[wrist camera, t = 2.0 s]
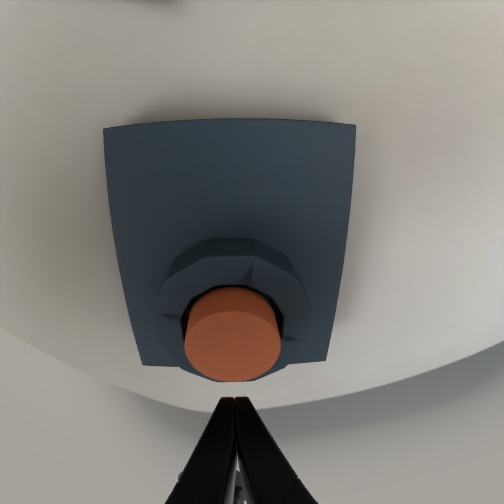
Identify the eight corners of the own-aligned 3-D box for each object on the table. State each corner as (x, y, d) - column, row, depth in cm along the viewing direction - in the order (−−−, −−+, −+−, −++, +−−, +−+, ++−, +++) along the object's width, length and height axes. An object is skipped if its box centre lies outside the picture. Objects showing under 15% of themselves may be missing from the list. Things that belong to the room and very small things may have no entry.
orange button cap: (273, 352, 13) (278, 380, 12) (193, 354, 13) (190, 382, 12) (277, 284, 12) (284, 309, 10) (184, 286, 12) (178, 312, 10)
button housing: (316, 336, 18) (334, 384, 14) (149, 340, 17) (135, 389, 13) (338, 124, 13) (376, 126, 9) (121, 127, 12) (82, 130, 9)
